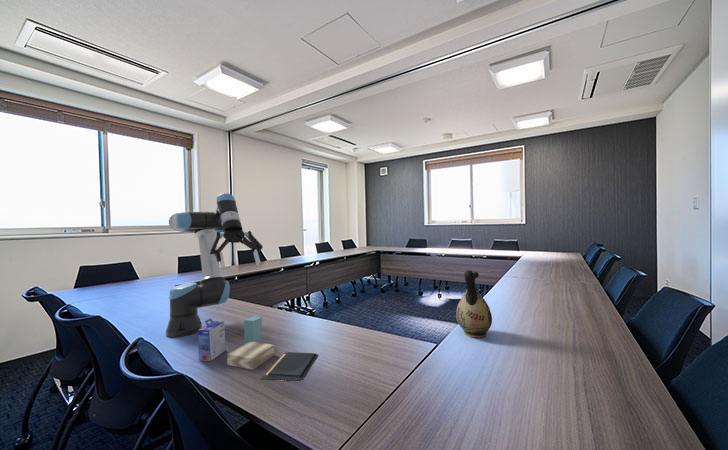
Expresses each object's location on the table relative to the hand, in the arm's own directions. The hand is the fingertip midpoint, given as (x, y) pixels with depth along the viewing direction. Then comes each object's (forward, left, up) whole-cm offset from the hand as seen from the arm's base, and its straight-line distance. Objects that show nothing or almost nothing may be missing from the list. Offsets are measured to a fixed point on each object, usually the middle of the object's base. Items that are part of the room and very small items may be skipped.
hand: (241, 266), depth 112 cm
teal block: (-2, +8, -36) cm, 37 cm away
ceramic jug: (+87, +49, -36) cm, 106 cm away
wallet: (+24, -1, -37) cm, 44 cm away
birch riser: (+6, -2, -36) cm, 36 cm away
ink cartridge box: (-12, -4, -36) cm, 38 cm away
